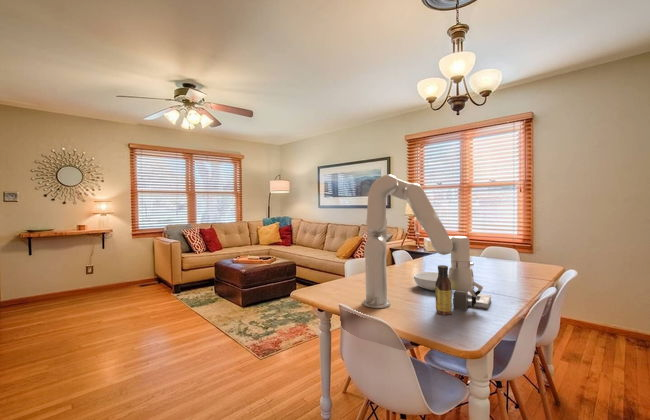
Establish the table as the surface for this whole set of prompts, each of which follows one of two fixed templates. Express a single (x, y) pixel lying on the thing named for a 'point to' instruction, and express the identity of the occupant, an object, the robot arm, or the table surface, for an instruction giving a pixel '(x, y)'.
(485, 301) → the socket plate
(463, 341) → the table surface
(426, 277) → the serving bowl
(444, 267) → the sauce bottle
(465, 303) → the plug
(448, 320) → the table surface
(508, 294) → the table surface
